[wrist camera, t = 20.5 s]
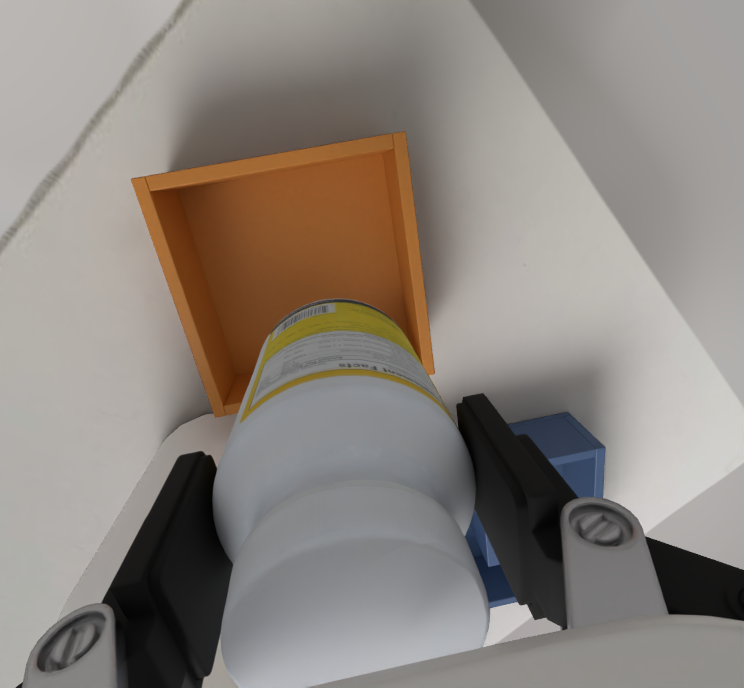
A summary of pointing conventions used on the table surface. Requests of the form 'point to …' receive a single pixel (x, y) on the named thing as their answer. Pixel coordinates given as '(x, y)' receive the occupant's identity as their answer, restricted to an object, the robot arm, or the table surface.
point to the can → (112, 551)
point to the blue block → (483, 541)
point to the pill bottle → (344, 508)
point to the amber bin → (285, 248)
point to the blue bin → (572, 461)
